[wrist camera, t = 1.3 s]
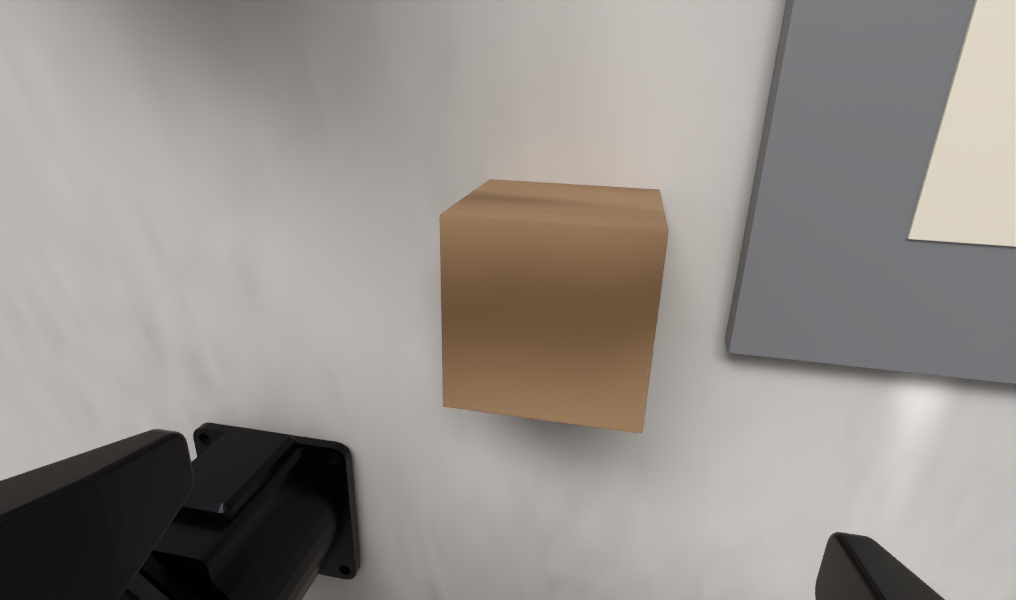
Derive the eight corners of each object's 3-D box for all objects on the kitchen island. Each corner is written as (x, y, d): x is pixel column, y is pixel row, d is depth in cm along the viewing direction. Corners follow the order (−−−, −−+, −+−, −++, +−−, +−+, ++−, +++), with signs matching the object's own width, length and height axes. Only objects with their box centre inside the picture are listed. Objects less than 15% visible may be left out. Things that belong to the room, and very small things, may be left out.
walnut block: (640, 345, 18) (642, 433, 14) (488, 328, 19) (443, 406, 15) (659, 189, 17) (668, 231, 12) (490, 179, 18) (439, 214, 13)
